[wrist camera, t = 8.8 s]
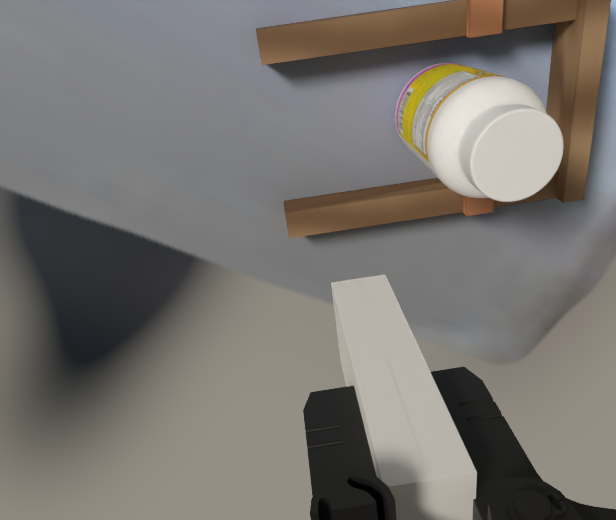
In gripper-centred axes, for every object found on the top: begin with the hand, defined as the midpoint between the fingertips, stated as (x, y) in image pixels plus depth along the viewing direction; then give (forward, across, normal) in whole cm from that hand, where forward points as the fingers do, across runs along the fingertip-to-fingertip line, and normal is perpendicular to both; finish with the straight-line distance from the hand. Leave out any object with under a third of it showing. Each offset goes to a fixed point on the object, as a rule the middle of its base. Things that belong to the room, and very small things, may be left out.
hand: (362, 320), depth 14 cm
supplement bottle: (+25, +10, 0) cm, 26 cm away
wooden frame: (+24, +8, 0) cm, 26 cm away
